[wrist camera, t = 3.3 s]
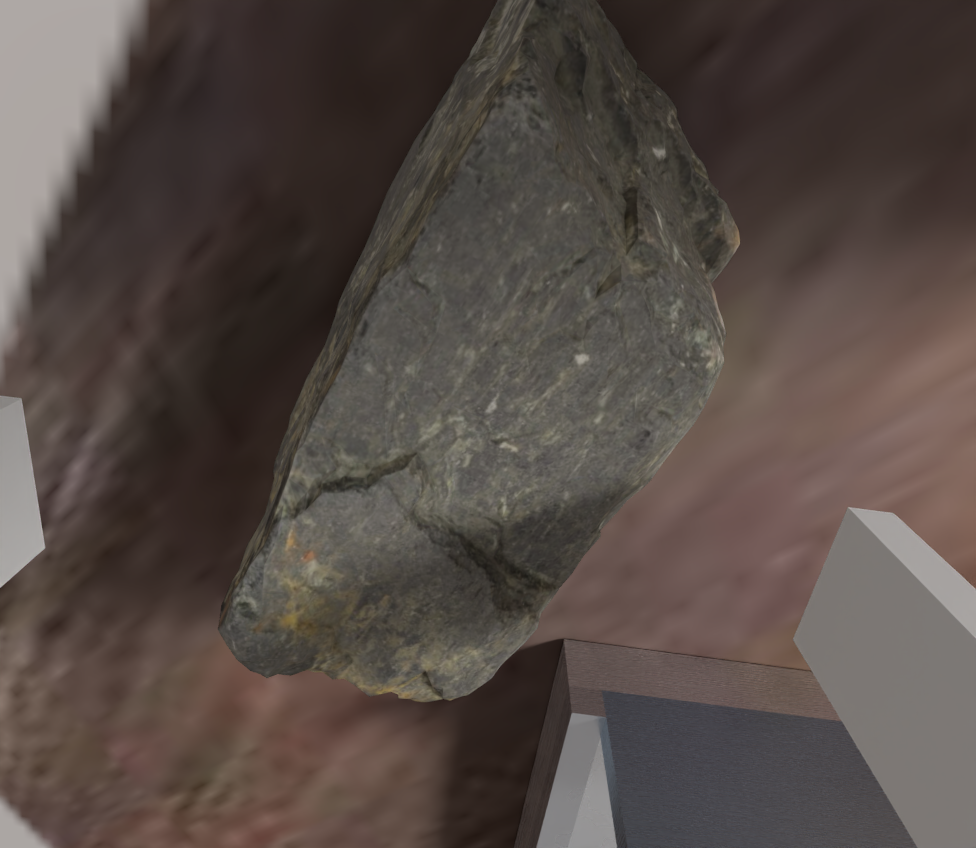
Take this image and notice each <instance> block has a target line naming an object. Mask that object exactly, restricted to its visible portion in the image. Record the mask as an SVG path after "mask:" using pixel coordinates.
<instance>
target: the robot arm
mask: <svg viewBox="0 0 976 848" xmlns="http://www.w3.org/2000/svg"><path fill="white" fill-rule="evenodd" d="M44 549H45V543H44V537H43V531H42V524H41V518H40V512H39V505H38V499H37V493H36V486H35V480H34V474H33V467H32V461H31V455H30V448H29V442H28V436H27V429H26V423H25V417H24V410H23V404H22V398H15V397H7V396H0V588H1V587H2V586H3V585H4V584H5V583H6V582H7V581H8V580H10V579H11V578H12V577H13V576H14V575H15V574H16V573H18V572H19V571H20V570H21V569H22V568H23V567H24V566H25V565H27V564H28V563H29V562H30V561H31V560H32V559H33V558H35V557H36V556H37V555H38V554H39V553H40V552H41V551H42V550H44ZM793 641H794V642H795V644H796V646H797V647H798V649H799V651H800V652H801V654H802V656H803V657H804V659H805V661H806V662H807V664H808V666H809V667H810V669H811V671H812V672H813V674H814V676H815V677H816V679H817V681H818V682H819V684H820V686H821V687H822V689H823V691H824V692H825V694H826V696H827V697H828V699H829V701H830V702H831V704H832V706H833V707H834V709H835V711H836V712H837V714H838V716H839V717H840V719H841V721H842V722H843V724H844V726H845V727H846V729H847V731H848V732H849V734H850V736H851V737H852V739H853V741H854V742H855V744H856V746H857V747H858V749H859V751H860V752H861V754H862V756H863V757H864V759H865V761H866V763H867V764H868V766H869V768H870V769H871V771H872V773H873V774H874V776H875V778H876V779H877V781H878V783H879V784H880V786H881V788H882V789H883V791H884V793H885V794H886V796H887V798H888V799H889V801H890V803H891V804H892V806H893V808H894V809H895V811H896V813H897V814H898V816H899V818H900V819H901V821H902V823H903V824H904V826H905V828H906V829H907V831H908V833H909V834H910V836H911V838H912V839H913V841H914V843H915V844H916V846H917V848H976V589H975V588H974V587H973V586H972V585H971V584H970V583H969V582H968V581H966V580H965V579H964V578H963V577H962V576H961V575H960V574H959V573H958V572H957V571H956V570H955V569H953V568H952V567H951V566H950V565H949V564H948V563H947V562H946V561H945V560H944V559H943V558H942V557H940V556H939V555H938V554H937V553H936V552H935V551H934V550H933V549H932V548H931V547H930V546H929V545H927V544H926V543H925V542H924V541H923V540H922V539H921V538H920V537H919V536H918V535H917V534H916V533H915V532H913V531H912V530H911V529H910V528H909V527H908V526H907V525H906V524H905V523H904V522H903V521H902V520H900V519H899V518H898V517H897V516H896V515H895V514H894V513H889V512H881V511H874V510H866V509H858V508H851V507H848V508H847V511H846V513H845V515H844V518H843V520H842V523H841V525H840V528H839V530H838V532H837V535H836V537H835V540H834V542H833V544H832V547H831V549H830V552H829V554H828V556H827V559H826V561H825V564H824V566H823V568H822V571H821V573H820V576H819V578H818V580H817V583H816V585H815V588H814V590H813V592H812V595H811V597H810V600H809V602H808V604H807V607H806V609H805V612H804V614H803V617H802V619H801V621H800V624H799V626H798V629H797V631H796V633H795V636H794V638H793Z"/></svg>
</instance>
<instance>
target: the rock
mask: <svg viewBox="0 0 976 848" xmlns="http://www.w3.org/2000/svg"><path fill="white" fill-rule="evenodd" d="M718 193H719V191H718V190H717V189H716V188H715V187H714V186H713V185H712V184H711V182H710V180H709V177H708V174H707V170H706V167H705V165H704V164H703V163H702V161H701V160H700V159H699V158H698V156H697V155H696V154H695V153H694V152H693V150H692V149H691V147H690V145H689V143H688V142H687V140H686V138H685V135H684V133H683V131H682V129H681V127H680V125H679V122H678V120H677V108H676V107H675V105H674V104H673V103H672V101H671V100H670V98H669V97H668V95H667V94H666V93H665V92H664V91H663V90H662V89H660V88H659V87H658V86H657V85H655V84H654V83H653V82H652V80H650V78H649V77H648V76H647V75H646V74H644V73H643V72H642V71H640V70H639V69H637V63H636V61H635V60H634V58H633V57H632V55H631V54H630V53H629V51H628V50H627V48H626V47H625V46H624V44H623V41H622V39H621V37H620V35H619V33H618V32H617V30H616V28H615V27H614V26H613V24H612V23H611V22H610V21H609V20H608V19H607V18H606V15H605V13H604V11H603V10H602V8H601V7H600V5H599V4H598V2H597V1H596V0H498V1H497V3H496V5H495V7H494V8H493V10H492V13H491V15H490V17H489V19H488V20H487V22H486V24H485V26H484V28H483V30H482V32H481V34H480V36H479V38H478V40H477V42H476V44H475V45H474V46H473V48H472V49H471V52H470V55H469V57H468V59H467V60H466V61H465V62H464V64H463V65H462V66H461V68H460V69H459V70H458V71H457V73H456V74H455V77H454V79H453V82H452V84H451V86H450V87H449V89H448V90H447V92H446V93H445V95H444V96H443V98H442V99H441V101H440V102H439V104H438V106H437V108H436V110H435V112H434V113H433V115H432V116H431V117H430V119H429V120H428V122H427V123H426V125H425V126H424V127H423V129H422V130H421V132H420V133H419V135H418V136H417V137H416V139H415V141H414V143H413V144H412V146H411V148H410V150H409V152H408V154H407V156H406V158H405V160H404V162H403V163H402V165H401V167H400V169H399V171H398V173H397V175H396V177H395V178H394V180H393V182H392V184H391V186H390V188H389V190H388V192H387V194H386V197H385V199H384V202H383V204H382V207H381V209H380V212H379V214H378V217H377V219H376V222H375V224H374V227H373V229H372V231H371V234H370V236H369V238H368V241H367V243H366V246H365V248H364V250H363V252H362V254H361V256H360V258H359V260H358V262H357V264H356V266H355V268H354V270H353V272H352V274H351V276H350V279H349V281H348V283H347V285H346V287H345V289H344V292H343V294H342V296H341V298H340V300H339V303H338V307H337V311H336V315H335V318H334V321H333V324H332V327H331V329H330V332H329V335H328V338H327V340H326V343H325V346H324V348H323V349H322V351H321V353H320V355H319V356H318V358H317V360H316V362H315V364H314V366H313V367H312V369H311V371H310V373H309V375H308V377H307V379H306V381H305V384H304V386H303V388H302V391H301V393H300V395H299V397H298V400H297V402H296V404H295V406H294V409H293V411H292V413H291V416H290V419H289V426H288V429H287V432H286V434H285V436H284V438H283V440H282V443H281V446H280V450H279V452H278V455H277V457H276V460H275V464H274V470H273V473H274V481H273V485H272V489H271V493H270V497H269V501H268V504H267V508H266V512H265V515H264V516H263V518H262V520H261V522H260V524H259V526H258V528H257V530H256V532H255V533H254V535H253V536H252V538H251V540H250V541H249V543H248V545H247V547H246V550H245V553H244V556H243V559H242V562H241V565H240V568H239V571H238V573H237V574H236V576H235V577H234V579H233V580H232V582H231V585H230V587H229V589H228V592H227V594H226V596H225V599H224V601H223V603H222V606H221V613H220V620H219V627H218V630H219V632H220V634H221V636H222V637H223V639H224V641H225V643H226V644H227V646H228V647H229V649H230V650H231V652H232V653H233V655H234V656H235V658H236V659H237V660H238V661H239V662H240V663H242V664H243V665H244V666H245V667H247V668H248V669H249V670H250V671H253V672H256V673H259V674H261V675H263V676H264V677H266V678H269V677H271V676H274V675H276V674H282V675H290V676H291V675H294V674H297V673H299V672H302V671H305V670H309V671H312V672H323V673H325V674H326V675H327V676H329V677H330V678H332V679H346V680H347V681H349V682H350V683H352V684H353V685H355V686H356V687H357V688H359V689H360V690H361V691H363V692H364V693H365V694H367V695H368V696H369V697H370V696H375V695H380V694H383V693H387V692H390V691H391V692H393V693H396V694H398V698H403V699H411V700H413V701H418V702H431V701H436V700H440V699H446V700H449V701H450V700H453V699H455V698H458V697H461V696H466V695H469V694H470V693H472V692H473V691H474V690H476V689H477V688H479V687H480V686H482V685H483V684H484V683H486V682H487V681H489V680H490V679H491V678H492V677H493V676H494V674H495V673H496V672H497V670H498V669H499V667H500V666H501V665H502V664H503V663H504V662H505V661H506V660H507V659H508V658H509V657H510V656H511V655H512V654H513V653H514V652H516V651H517V650H518V649H519V648H520V647H521V646H522V645H523V644H524V643H525V642H526V641H527V640H528V638H529V637H530V636H531V635H532V634H533V633H534V631H535V630H536V629H537V627H538V623H539V618H540V614H541V613H542V611H543V610H544V609H545V607H546V606H547V605H548V603H549V602H550V601H551V599H552V598H553V596H554V595H555V594H556V592H557V591H558V590H559V588H560V587H561V586H562V584H563V583H564V582H565V581H566V580H567V579H568V577H569V576H570V575H571V574H572V573H573V571H574V570H575V568H576V567H577V565H578V564H579V562H580V561H581V559H582V558H583V556H584V555H585V553H586V552H587V551H588V550H589V549H590V548H591V547H592V546H593V544H594V543H595V542H596V541H597V540H598V539H599V538H600V530H601V529H602V528H603V527H604V526H605V525H606V524H607V523H608V521H609V520H610V519H611V518H612V517H613V516H614V515H615V514H616V513H617V512H618V511H619V509H620V508H621V507H622V506H623V505H624V504H625V502H626V501H627V500H628V499H630V498H631V497H632V496H633V495H635V494H636V493H637V492H638V491H640V490H641V489H642V488H643V487H644V486H645V485H646V484H647V483H648V482H649V481H650V480H651V479H652V477H653V476H654V475H655V473H656V472H657V470H658V469H659V468H660V466H661V465H662V463H663V462H664V461H665V459H666V458H667V457H668V456H669V454H670V453H671V452H672V450H673V449H674V448H675V447H676V445H677V444H678V443H679V441H680V440H681V439H682V438H683V437H684V435H685V434H686V433H687V432H688V431H689V429H690V428H691V427H692V426H693V424H694V423H695V421H696V420H697V418H698V416H699V415H700V413H701V411H702V410H703V408H704V406H705V404H706V402H707V400H708V398H709V396H710V394H711V391H712V389H713V387H714V385H715V383H716V380H717V378H718V376H719V373H720V371H721V369H722V366H723V364H724V352H723V345H724V341H725V337H726V331H725V328H724V324H723V320H722V316H721V314H720V312H719V309H718V305H717V301H716V296H715V292H714V289H713V287H712V285H711V283H712V282H713V281H714V280H715V279H716V278H717V276H718V275H719V274H720V273H721V272H722V271H723V269H724V268H725V267H726V265H727V264H728V262H729V261H730V259H731V257H732V256H733V254H734V253H735V251H736V250H737V248H738V246H739V245H740V238H739V230H738V228H737V226H736V224H735V222H734V220H733V218H732V215H731V213H730V211H729V208H728V206H727V204H726V202H725V201H724V200H722V199H721V198H720V197H719V196H718Z"/></svg>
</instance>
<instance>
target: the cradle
mask: <svg viewBox="0 0 976 848" xmlns="http://www.w3.org/2000/svg"><path fill="white" fill-rule="evenodd" d="M514 848H917V846H916V844H915V843H914V841H913V839H912V838H911V836H910V834H909V833H908V831H907V829H906V828H905V826H904V824H903V823H902V821H901V819H900V818H899V816H898V814H897V813H896V811H895V809H894V808H893V806H892V804H891V803H890V801H889V799H888V798H887V796H886V794H885V793H884V791H883V789H882V788H881V786H880V784H879V783H878V781H877V779H876V778H875V776H874V774H873V773H872V771H871V769H870V768H869V766H868V764H867V763H866V761H865V759H864V757H863V756H862V754H861V752H860V751H859V749H858V747H857V746H856V744H855V742H854V741H853V739H852V737H851V736H850V734H849V732H848V731H847V729H846V727H845V726H844V724H843V722H842V721H841V719H840V717H839V716H838V714H837V712H836V711H835V709H834V707H833V706H832V704H831V702H830V701H829V699H828V697H827V696H826V694H825V692H824V691H823V689H822V687H821V686H820V684H819V682H818V681H817V679H816V677H815V676H814V674H813V672H811V671H803V670H796V669H788V668H780V667H773V666H765V665H758V664H750V663H742V662H735V661H727V660H720V659H712V658H704V657H697V656H689V655H682V654H674V653H666V652H659V651H651V650H644V649H636V648H628V647H621V646H613V645H606V644H598V643H590V642H583V641H575V640H568V639H564V641H563V645H562V649H561V653H560V657H559V661H558V666H557V670H556V674H555V678H554V682H553V686H552V691H551V695H550V699H549V703H548V707H547V711H546V716H545V720H544V724H543V728H542V732H541V736H540V741H539V745H538V749H537V753H536V757H535V761H534V766H533V770H532V774H531V778H530V782H529V786H528V791H527V795H526V799H525V803H524V807H523V811H522V816H521V820H520V824H519V828H518V832H517V836H516V841H515V845H514Z"/></svg>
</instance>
